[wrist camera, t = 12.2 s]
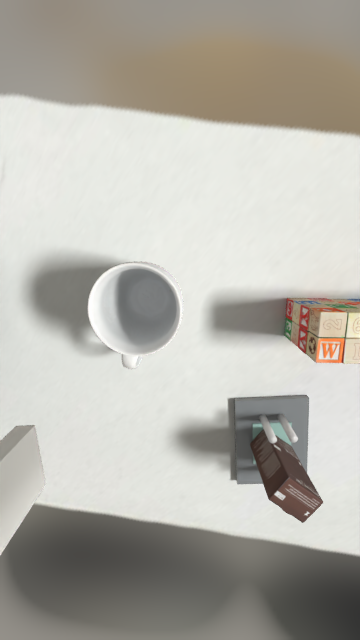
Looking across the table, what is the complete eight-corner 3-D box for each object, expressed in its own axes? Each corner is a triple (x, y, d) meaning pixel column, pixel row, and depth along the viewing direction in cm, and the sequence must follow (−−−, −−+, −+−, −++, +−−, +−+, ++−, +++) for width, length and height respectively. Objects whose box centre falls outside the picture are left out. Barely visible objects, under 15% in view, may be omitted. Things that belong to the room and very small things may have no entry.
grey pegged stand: (236, 479, 51) (243, 513, 44) (234, 398, 48) (241, 421, 41) (304, 478, 51) (322, 512, 44) (306, 395, 47) (326, 417, 41)
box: (292, 444, 48) (325, 503, 36) (275, 462, 49) (301, 526, 37) (265, 424, 47) (289, 478, 36) (247, 442, 48) (266, 501, 37)
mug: (172, 358, 47) (166, 395, 34) (107, 345, 47) (76, 377, 34) (191, 269, 44) (191, 272, 31) (121, 254, 44) (93, 252, 31)
